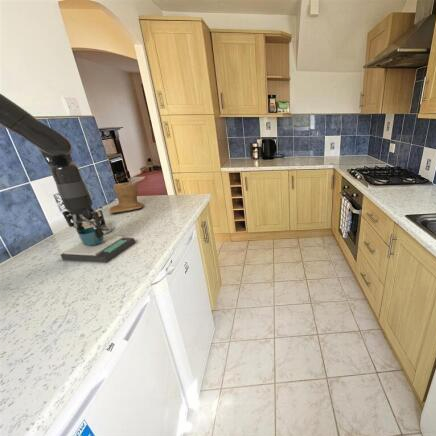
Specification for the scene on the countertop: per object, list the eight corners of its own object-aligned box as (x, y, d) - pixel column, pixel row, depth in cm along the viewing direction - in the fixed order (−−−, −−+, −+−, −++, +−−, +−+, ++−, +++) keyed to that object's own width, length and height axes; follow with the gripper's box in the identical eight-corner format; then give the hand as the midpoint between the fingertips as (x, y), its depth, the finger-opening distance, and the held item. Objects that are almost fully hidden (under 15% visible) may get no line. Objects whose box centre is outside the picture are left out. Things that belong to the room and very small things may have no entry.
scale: (62, 260, 87) (59, 252, 86) (96, 241, 100) (93, 234, 99) (107, 262, 85) (104, 255, 84) (135, 243, 98) (133, 236, 97)
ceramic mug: (79, 239, 102) (72, 223, 99) (87, 231, 109) (81, 215, 106) (108, 235, 105) (103, 219, 102) (114, 228, 112) (109, 212, 109)
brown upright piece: (144, 204, 142) (136, 178, 136) (143, 210, 132) (135, 183, 126) (113, 209, 135) (104, 182, 129) (110, 216, 126) (100, 188, 120)
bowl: (78, 246, 89) (73, 233, 87) (93, 238, 94) (89, 226, 92) (94, 247, 88) (89, 234, 86) (108, 238, 94) (104, 227, 92)
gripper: (45, 197, 81) (65, 241, 88) (83, 198, 79) (100, 242, 86) (67, 190, 88) (84, 231, 95) (102, 191, 86) (117, 232, 93)
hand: (92, 236), depth 90 cm, fingers closed on bowl, 6 cm apart
